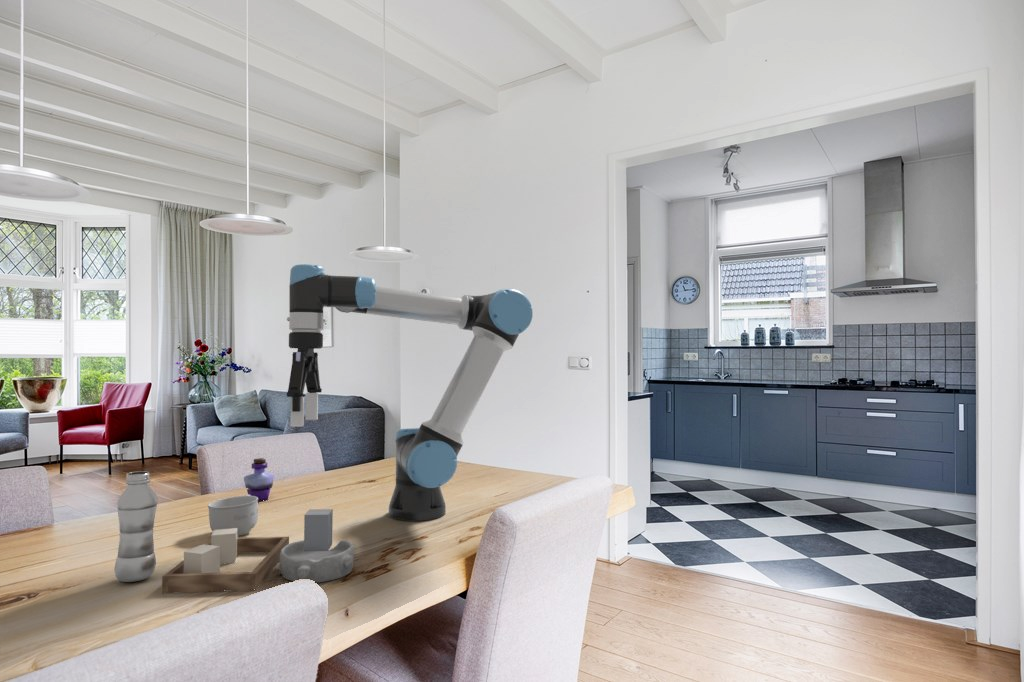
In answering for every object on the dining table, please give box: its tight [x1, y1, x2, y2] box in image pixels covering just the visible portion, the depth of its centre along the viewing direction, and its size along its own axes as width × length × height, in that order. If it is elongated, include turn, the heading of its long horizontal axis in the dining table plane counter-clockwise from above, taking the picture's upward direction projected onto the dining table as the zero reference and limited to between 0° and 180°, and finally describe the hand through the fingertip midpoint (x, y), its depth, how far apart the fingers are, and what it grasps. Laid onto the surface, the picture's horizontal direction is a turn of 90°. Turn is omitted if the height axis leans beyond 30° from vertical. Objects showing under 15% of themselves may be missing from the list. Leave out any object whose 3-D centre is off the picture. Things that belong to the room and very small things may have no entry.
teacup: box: [207, 494, 259, 537], centre depth 142 cm, size 14×11×8 cm
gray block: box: [303, 508, 334, 552], centre depth 116 cm, size 4×4×7 cm
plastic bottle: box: [113, 470, 159, 583], centre depth 111 cm, size 6×7×20 cm
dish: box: [279, 539, 355, 584], centre depth 116 cm, size 14×14×5 cm
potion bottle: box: [243, 457, 276, 503], centre depth 173 cm, size 9×9×12 cm
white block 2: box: [210, 528, 238, 565], centre depth 122 cm, size 4×4×6 cm
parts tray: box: [161, 535, 290, 594], centre depth 117 cm, size 16×22×3 cm
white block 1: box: [183, 543, 221, 574], centre depth 111 cm, size 4×4×6 cm
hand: (304, 423), depth 137 cm, fingers open, 13 cm apart
